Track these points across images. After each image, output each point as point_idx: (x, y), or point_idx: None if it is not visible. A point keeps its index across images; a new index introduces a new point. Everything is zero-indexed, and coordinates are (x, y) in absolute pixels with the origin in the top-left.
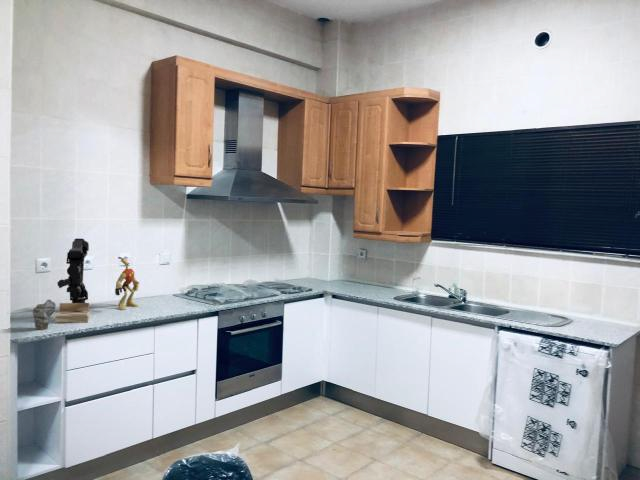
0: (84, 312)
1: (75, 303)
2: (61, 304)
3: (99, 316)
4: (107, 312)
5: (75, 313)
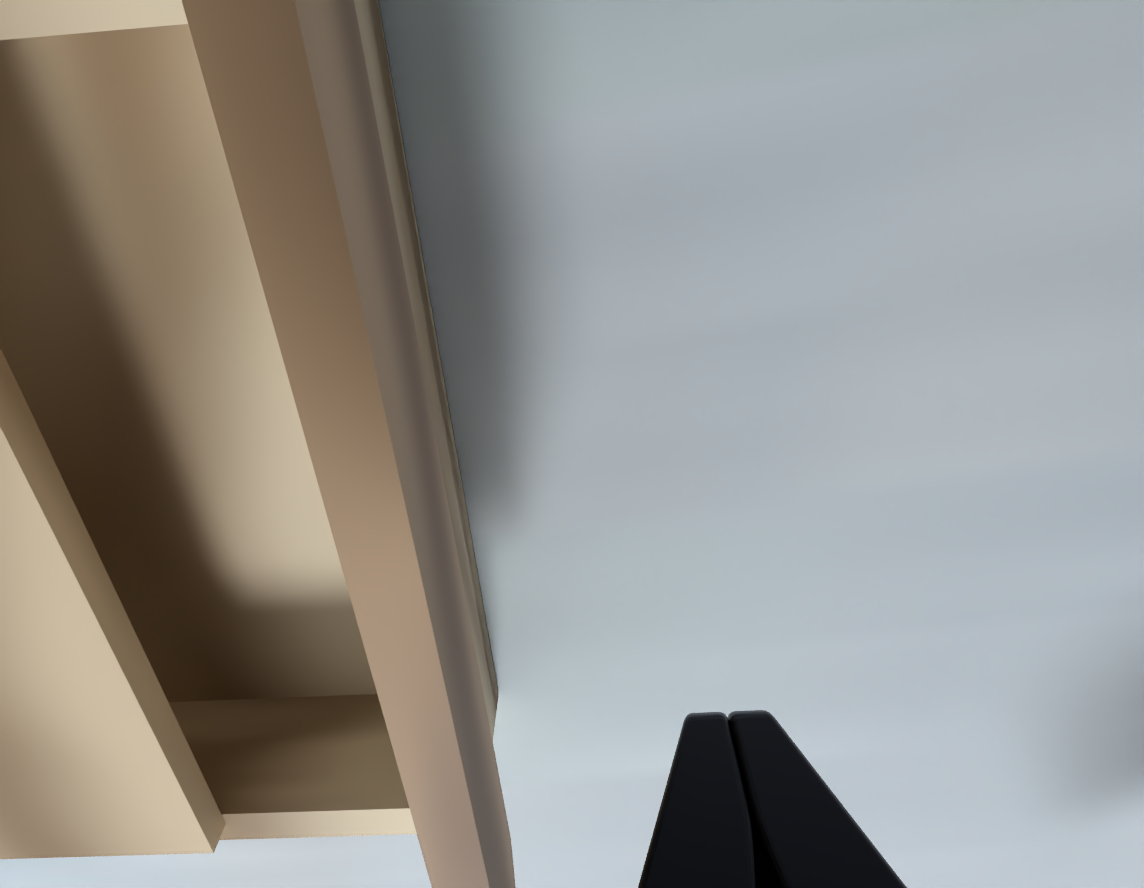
0: None
1: (421, 809)
2: (242, 127)
3: None
4: (1031, 878)
5: (10, 637)
